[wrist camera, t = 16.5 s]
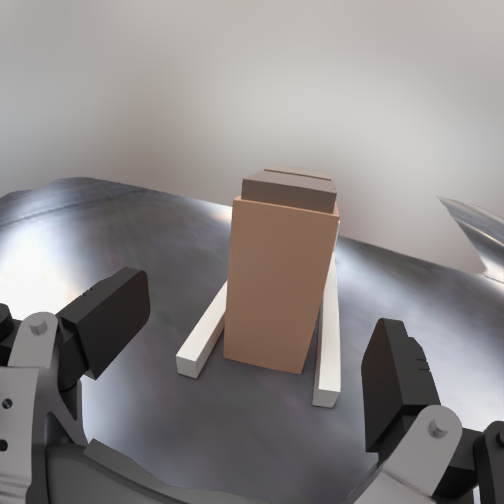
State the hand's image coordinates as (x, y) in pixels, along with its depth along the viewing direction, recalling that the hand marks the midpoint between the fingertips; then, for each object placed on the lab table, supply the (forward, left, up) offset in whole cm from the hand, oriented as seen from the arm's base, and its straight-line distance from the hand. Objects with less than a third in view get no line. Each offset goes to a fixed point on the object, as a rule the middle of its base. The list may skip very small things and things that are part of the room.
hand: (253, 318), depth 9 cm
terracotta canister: (+7, +2, -7) cm, 11 cm away
